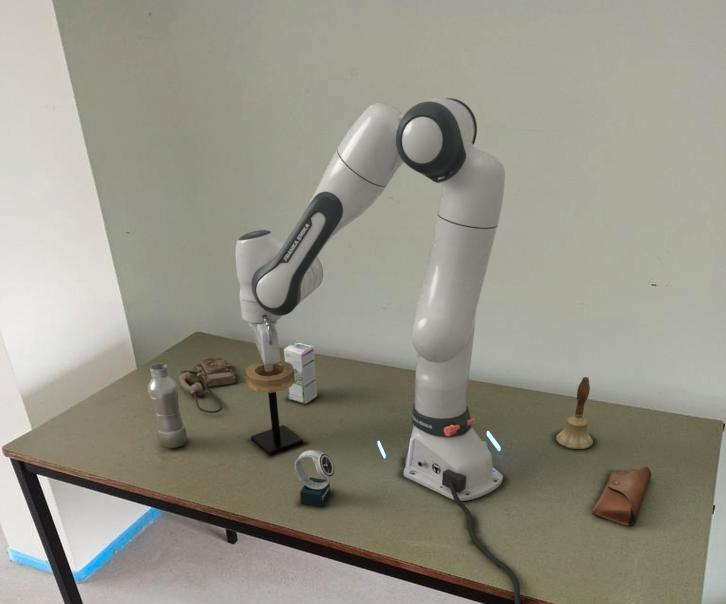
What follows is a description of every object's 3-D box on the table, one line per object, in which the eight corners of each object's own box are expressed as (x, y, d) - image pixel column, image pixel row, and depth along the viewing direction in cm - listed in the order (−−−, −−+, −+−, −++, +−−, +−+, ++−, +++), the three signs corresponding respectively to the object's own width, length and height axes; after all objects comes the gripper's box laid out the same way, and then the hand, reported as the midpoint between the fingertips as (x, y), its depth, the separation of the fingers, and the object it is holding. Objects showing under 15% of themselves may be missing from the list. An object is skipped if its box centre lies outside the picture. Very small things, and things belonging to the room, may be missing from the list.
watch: (329, 509, 136) (327, 463, 130) (293, 502, 138) (289, 457, 132) (338, 494, 140) (337, 449, 134) (303, 487, 142) (299, 443, 136)
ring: (304, 383, 149) (303, 371, 148) (262, 397, 144) (260, 385, 142) (279, 367, 156) (278, 355, 155) (238, 380, 151) (236, 368, 149)
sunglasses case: (608, 469, 146) (630, 450, 141) (634, 490, 145) (657, 471, 141) (590, 513, 132) (613, 494, 128) (618, 536, 132) (642, 518, 127)
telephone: (194, 420, 168) (192, 405, 166) (173, 370, 194) (171, 356, 191) (253, 411, 173) (252, 396, 171) (224, 364, 199) (223, 350, 197)
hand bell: (558, 429, 162) (568, 368, 153) (594, 435, 159) (606, 373, 151) (553, 446, 155) (563, 383, 147) (590, 452, 153) (603, 388, 144)
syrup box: (317, 396, 179) (314, 345, 171) (304, 405, 175) (301, 353, 167) (300, 391, 181) (297, 340, 173) (287, 399, 177) (282, 348, 169)
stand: (303, 444, 158) (298, 376, 148) (269, 456, 153) (262, 387, 144) (283, 429, 164) (277, 363, 155) (251, 440, 160) (243, 373, 150)
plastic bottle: (181, 452, 155) (166, 373, 144) (154, 450, 156) (137, 371, 146) (192, 438, 161) (179, 361, 150) (166, 436, 162) (151, 359, 151)
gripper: (284, 323, 137) (289, 384, 145) (268, 292, 154) (273, 349, 162) (253, 326, 136) (260, 388, 144) (241, 295, 153) (247, 352, 160)
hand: (267, 367), depth 153 cm, fingers closed on ring, 2 cm apart
